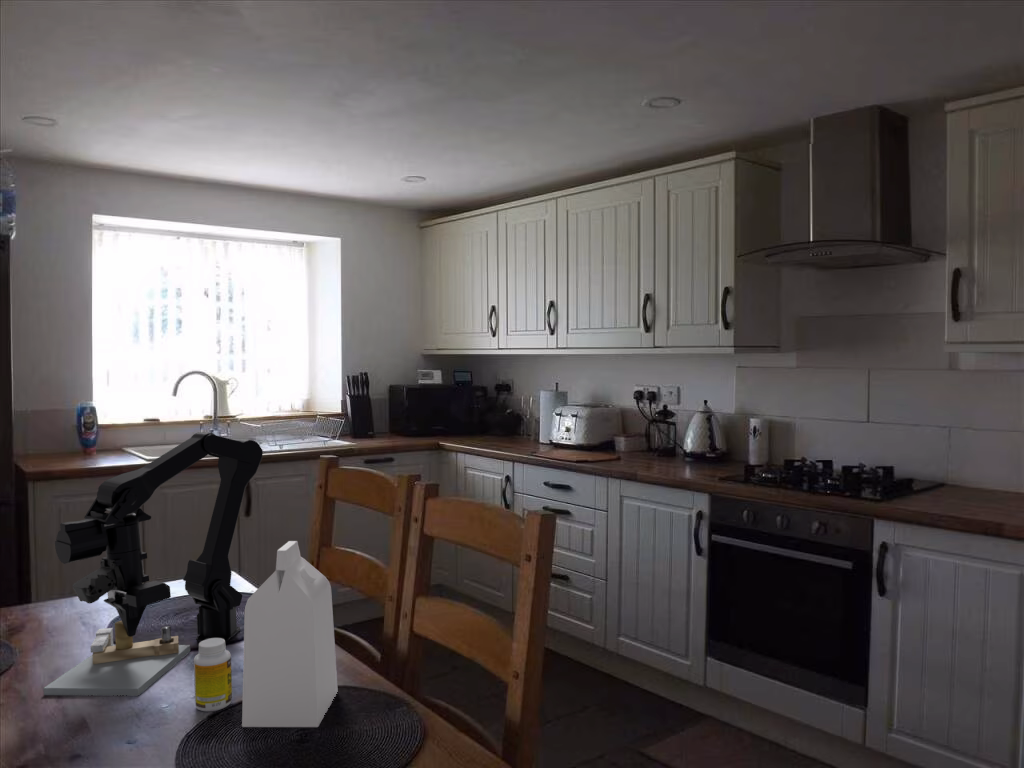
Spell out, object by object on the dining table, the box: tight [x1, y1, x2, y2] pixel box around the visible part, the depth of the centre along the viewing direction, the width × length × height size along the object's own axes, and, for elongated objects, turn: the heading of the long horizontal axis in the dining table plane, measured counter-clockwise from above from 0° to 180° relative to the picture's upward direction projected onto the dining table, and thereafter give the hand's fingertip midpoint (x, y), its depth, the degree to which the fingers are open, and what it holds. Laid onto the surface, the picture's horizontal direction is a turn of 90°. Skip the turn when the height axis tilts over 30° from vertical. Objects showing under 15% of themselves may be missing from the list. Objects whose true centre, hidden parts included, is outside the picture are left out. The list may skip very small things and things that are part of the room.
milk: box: [241, 540, 339, 728], centre depth 125 cm, size 12×12×26 cm
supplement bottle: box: [193, 638, 233, 712], centre depth 127 cm, size 6×6×10 cm
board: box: [43, 644, 191, 697], centre depth 141 cm, size 16×19×1 cm
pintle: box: [160, 625, 172, 644], centre depth 147 cm, size 2×2×4 cm
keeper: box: [90, 627, 114, 654], centre depth 145 cm, size 2×8×4 cm, turn 17°
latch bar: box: [91, 620, 180, 664], centre depth 145 cm, size 14×4×6 cm, turn 112°
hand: (131, 635), depth 143 cm, fingers closed
